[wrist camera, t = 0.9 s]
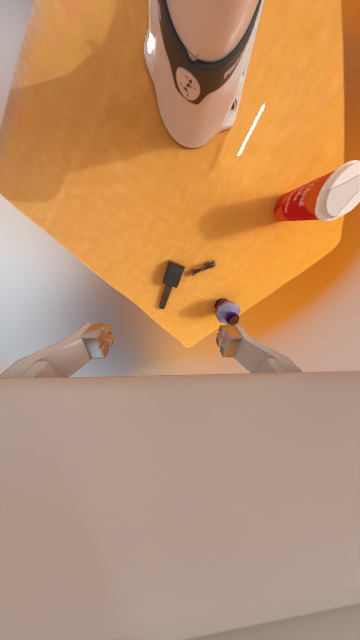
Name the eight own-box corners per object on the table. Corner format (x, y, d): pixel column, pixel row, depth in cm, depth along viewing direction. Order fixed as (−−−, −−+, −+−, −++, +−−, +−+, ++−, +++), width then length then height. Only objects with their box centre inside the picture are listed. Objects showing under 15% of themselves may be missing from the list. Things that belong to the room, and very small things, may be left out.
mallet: (169, 260, 41) (169, 261, 38) (184, 266, 42) (185, 268, 39) (154, 305, 49) (154, 309, 46) (167, 309, 50) (167, 313, 48)
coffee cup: (296, 177, 32) (376, 139, 20) (304, 208, 36) (377, 192, 23) (264, 207, 35) (317, 190, 23) (275, 233, 39) (326, 231, 26)
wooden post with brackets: (218, 262, 41) (216, 268, 38) (195, 271, 45) (192, 276, 42) (216, 257, 40) (214, 262, 37) (193, 266, 44) (190, 271, 41)
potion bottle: (222, 317, 54) (234, 335, 44) (206, 308, 51) (215, 325, 41) (236, 301, 50) (253, 317, 40) (220, 290, 48) (234, 304, 37)
